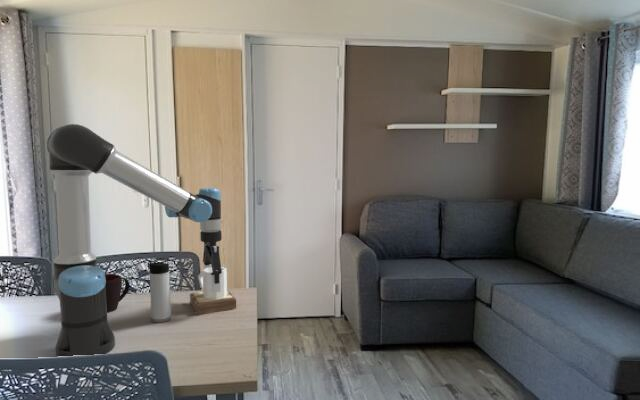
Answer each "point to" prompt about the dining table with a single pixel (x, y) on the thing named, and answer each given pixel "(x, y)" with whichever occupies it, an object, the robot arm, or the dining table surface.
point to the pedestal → (211, 303)
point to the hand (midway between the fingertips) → (212, 286)
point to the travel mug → (160, 292)
